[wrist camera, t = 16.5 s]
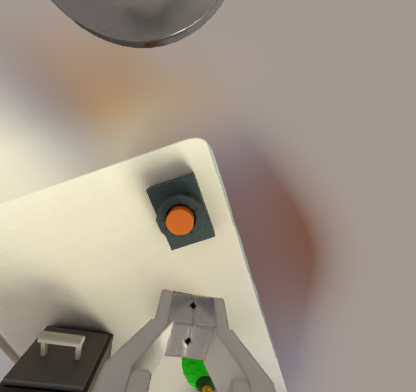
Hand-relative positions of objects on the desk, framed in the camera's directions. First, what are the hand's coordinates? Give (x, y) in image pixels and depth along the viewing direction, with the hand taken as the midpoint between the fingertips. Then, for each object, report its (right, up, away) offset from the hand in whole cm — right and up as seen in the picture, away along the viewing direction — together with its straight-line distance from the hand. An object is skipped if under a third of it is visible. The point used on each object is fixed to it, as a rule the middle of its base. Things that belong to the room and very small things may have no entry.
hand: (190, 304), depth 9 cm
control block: (-3, +3, +21) cm, 21 cm away
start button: (-3, +2, +17) cm, 18 cm away
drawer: (-23, -22, +26) cm, 41 cm away
